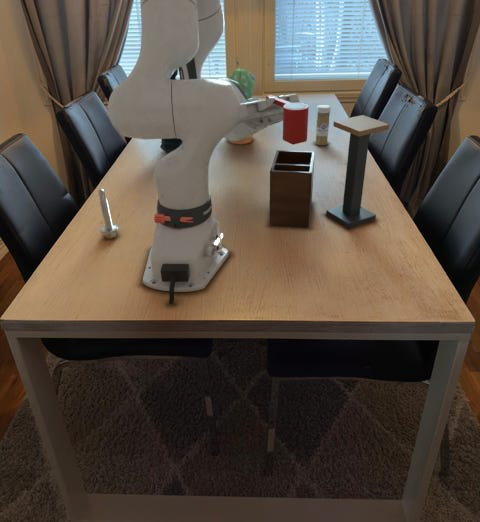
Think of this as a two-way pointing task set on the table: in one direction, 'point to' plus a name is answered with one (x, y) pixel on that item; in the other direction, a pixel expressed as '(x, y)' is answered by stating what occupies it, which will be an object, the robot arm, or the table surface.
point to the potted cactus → (247, 85)
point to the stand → (355, 170)
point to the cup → (293, 120)
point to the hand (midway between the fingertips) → (278, 99)
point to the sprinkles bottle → (322, 124)
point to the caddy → (291, 188)
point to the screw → (107, 218)
